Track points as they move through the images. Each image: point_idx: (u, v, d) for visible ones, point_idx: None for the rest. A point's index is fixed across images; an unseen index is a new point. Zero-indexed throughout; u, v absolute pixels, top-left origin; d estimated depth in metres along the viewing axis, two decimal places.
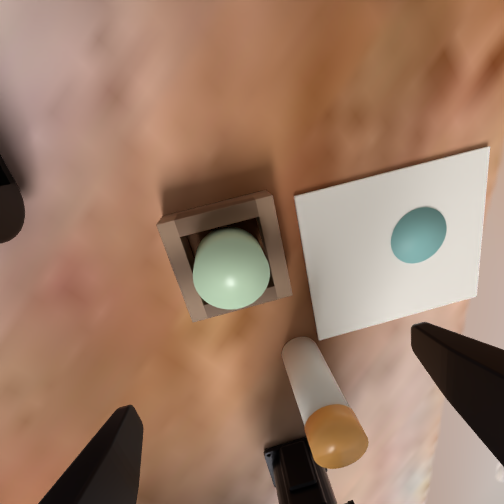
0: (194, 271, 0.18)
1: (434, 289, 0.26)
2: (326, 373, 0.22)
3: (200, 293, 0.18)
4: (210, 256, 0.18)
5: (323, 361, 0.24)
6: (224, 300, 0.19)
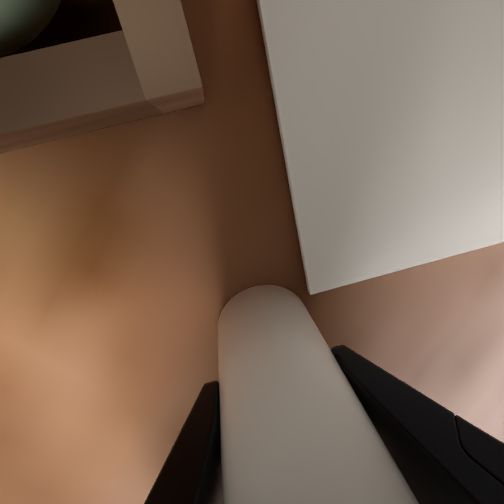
0: None
1: None
2: (330, 382, 0.06)
3: None
4: None
5: (320, 343, 0.08)
6: None
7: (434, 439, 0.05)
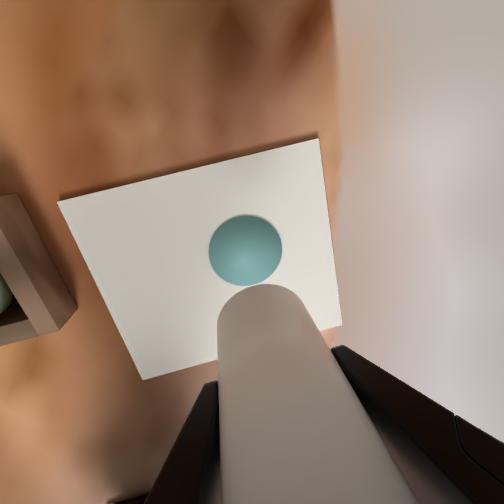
0: None
1: None
2: (330, 382, 0.06)
3: None
4: None
5: (320, 342, 0.08)
6: None
7: (434, 438, 0.05)
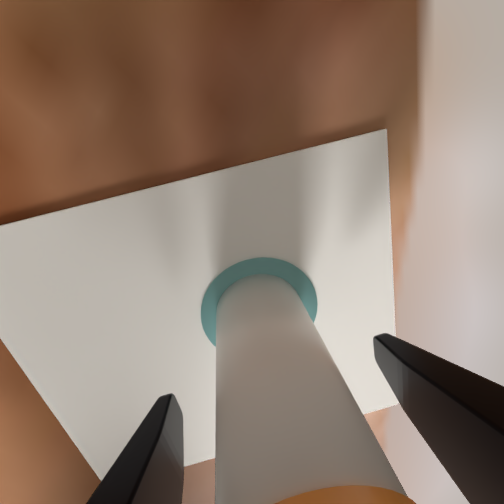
0: None
1: None
2: (314, 355, 0.07)
3: None
4: None
5: (309, 325, 0.09)
6: None
7: (502, 418, 0.05)
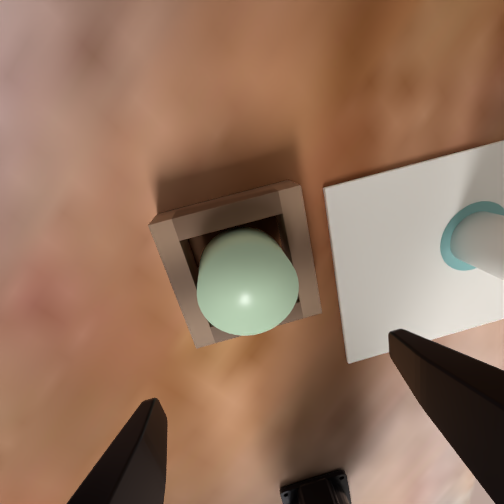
0: (199, 287, 0.13)
1: (488, 301, 0.22)
2: None
3: (206, 315, 0.14)
4: (220, 267, 0.13)
5: None
6: (238, 324, 0.14)
7: None
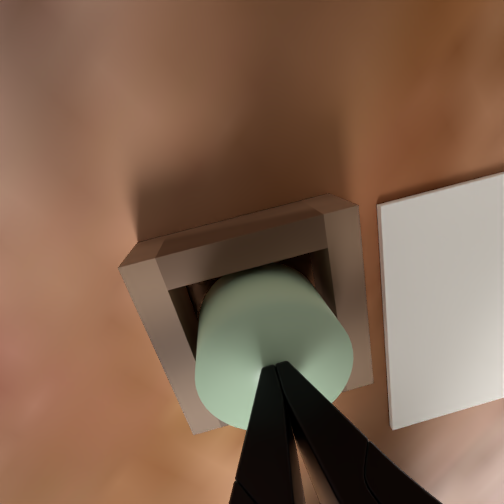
0: (198, 368, 0.08)
1: None
2: None
3: (210, 407, 0.09)
4: (233, 338, 0.08)
5: None
6: None
7: (343, 465, 0.05)
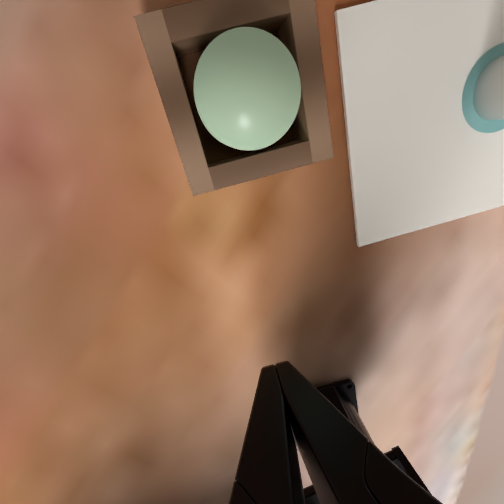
0: (195, 80, 0.13)
1: None
2: None
3: (204, 120, 0.13)
4: (218, 55, 0.12)
5: None
6: (238, 134, 0.14)
7: (344, 466, 0.05)
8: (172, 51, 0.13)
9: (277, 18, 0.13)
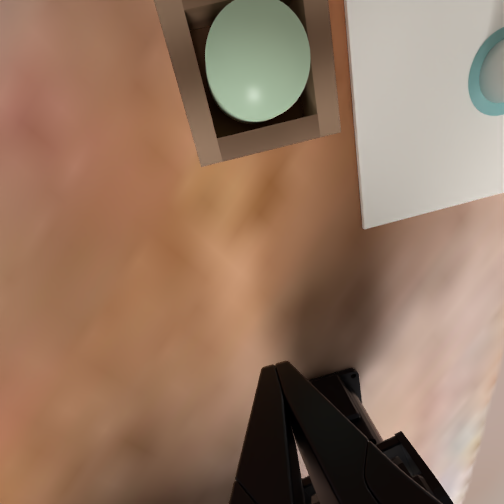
0: (207, 47, 0.13)
1: None
2: None
3: (215, 87, 0.13)
4: (230, 22, 0.13)
5: None
6: (247, 103, 0.14)
7: (344, 466, 0.05)
8: (185, 19, 0.13)
9: None
